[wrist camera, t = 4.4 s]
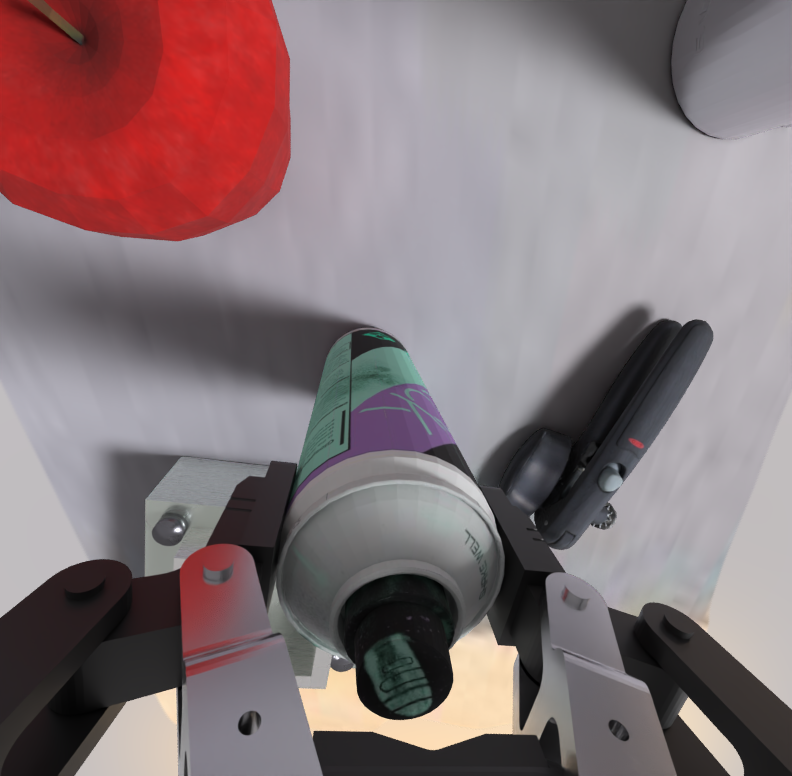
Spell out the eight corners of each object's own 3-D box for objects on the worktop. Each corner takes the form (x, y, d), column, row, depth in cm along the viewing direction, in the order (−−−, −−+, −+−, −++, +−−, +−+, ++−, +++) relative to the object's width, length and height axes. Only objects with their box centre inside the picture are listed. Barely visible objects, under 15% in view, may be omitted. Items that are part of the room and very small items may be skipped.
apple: (264, -10, 20) (99, -511, 7) (342, 207, 23) (329, 149, 10) (63, 65, 20) (-478, -288, 7) (170, 270, 23) (-57, 291, 10)
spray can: (377, 423, 27) (431, 819, 8) (308, 379, 26) (179, 735, 7) (427, 359, 26) (622, 645, 7) (357, 309, 24) (370, 500, 6)
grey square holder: (386, 479, 29) (398, 553, 22) (359, 608, 32) (361, 706, 25) (181, 456, 27) (120, 528, 20) (176, 596, 30) (122, 701, 23)
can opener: (545, 526, 32) (583, 580, 27) (479, 487, 30) (506, 537, 25) (705, 345, 28) (785, 366, 23) (641, 289, 27) (712, 297, 21)
